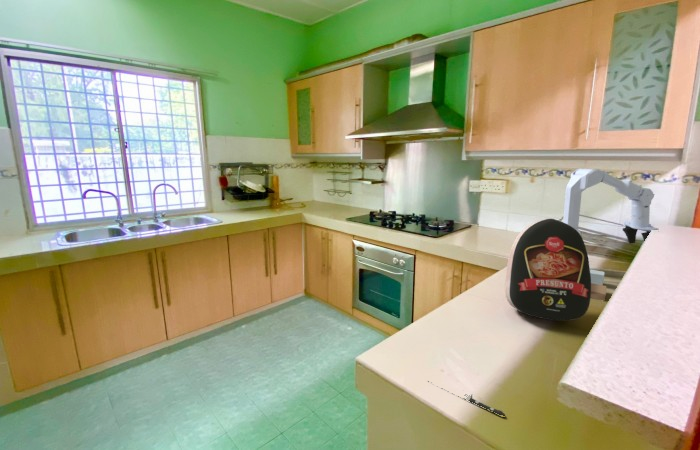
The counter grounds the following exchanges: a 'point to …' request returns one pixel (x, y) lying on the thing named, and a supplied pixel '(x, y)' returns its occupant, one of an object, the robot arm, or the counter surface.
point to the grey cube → (597, 277)
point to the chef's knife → (484, 405)
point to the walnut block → (598, 292)
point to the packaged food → (549, 272)
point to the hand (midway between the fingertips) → (639, 245)
